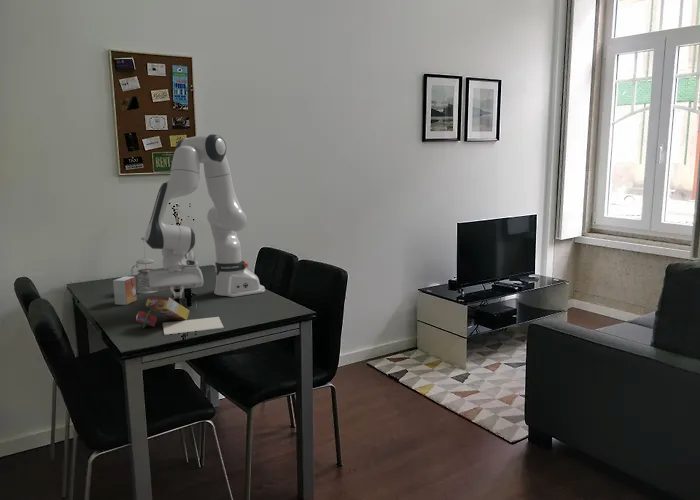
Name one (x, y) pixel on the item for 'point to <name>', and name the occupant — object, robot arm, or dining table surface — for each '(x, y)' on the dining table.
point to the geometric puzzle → (146, 318)
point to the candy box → (167, 307)
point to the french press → (143, 274)
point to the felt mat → (192, 325)
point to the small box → (124, 290)
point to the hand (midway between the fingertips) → (178, 297)
